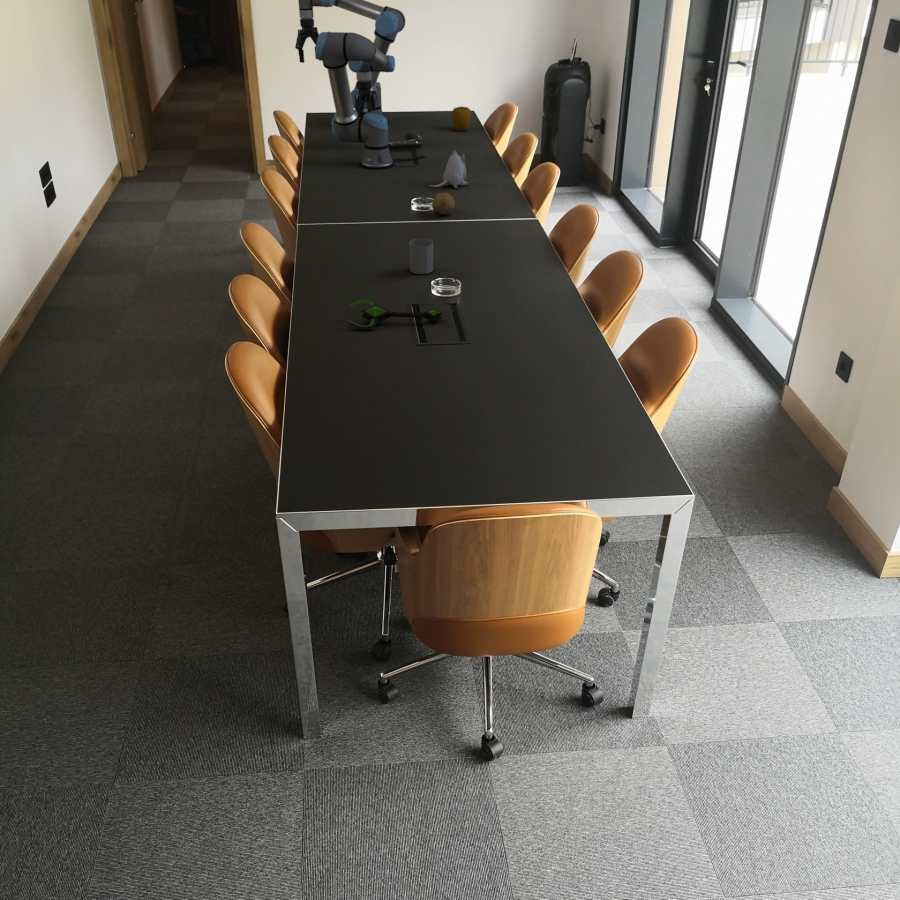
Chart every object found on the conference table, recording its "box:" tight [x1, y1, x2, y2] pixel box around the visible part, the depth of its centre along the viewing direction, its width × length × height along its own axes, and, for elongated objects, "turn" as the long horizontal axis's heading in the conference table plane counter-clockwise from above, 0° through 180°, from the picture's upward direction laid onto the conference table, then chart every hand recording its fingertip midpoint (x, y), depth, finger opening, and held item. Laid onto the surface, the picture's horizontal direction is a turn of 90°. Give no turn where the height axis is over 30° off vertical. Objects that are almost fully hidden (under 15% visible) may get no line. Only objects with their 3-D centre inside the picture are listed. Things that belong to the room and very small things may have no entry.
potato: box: [431, 192, 456, 216], centre depth 360 cm, size 10×14×8 cm
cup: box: [408, 237, 434, 275], centre depth 305 cm, size 8×8×10 cm
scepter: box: [345, 298, 443, 331], centre depth 269 cm, size 6×13×30 cm
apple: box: [451, 105, 472, 132], centre depth 487 cm, size 11×11×13 cm
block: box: [360, 109, 375, 115], centre depth 448 cm, size 7×7×11 cm
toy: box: [428, 149, 468, 189], centre depth 390 cm, size 9×24×15 cm, turn 137°
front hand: (366, 127), depth 450 cm, fingers closed on block, 7 cm apart
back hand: (310, 60), depth 483 cm, fingers open, 13 cm apart
